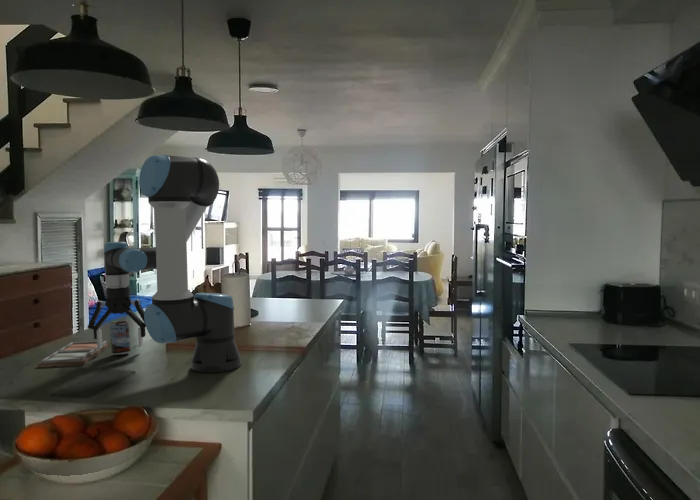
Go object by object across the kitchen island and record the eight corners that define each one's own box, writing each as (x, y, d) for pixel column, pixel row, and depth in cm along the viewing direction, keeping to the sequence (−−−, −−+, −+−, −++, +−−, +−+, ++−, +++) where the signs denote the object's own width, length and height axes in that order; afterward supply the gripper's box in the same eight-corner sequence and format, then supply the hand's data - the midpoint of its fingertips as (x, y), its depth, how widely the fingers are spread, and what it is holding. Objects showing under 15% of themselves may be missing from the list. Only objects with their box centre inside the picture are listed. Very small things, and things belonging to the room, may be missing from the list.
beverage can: (114, 358, 180) (112, 323, 179) (108, 353, 185) (106, 319, 185) (133, 354, 184) (132, 320, 183) (127, 350, 189) (125, 317, 189)
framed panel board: (84, 365, 172) (83, 358, 172) (37, 367, 170) (37, 361, 170) (109, 345, 197) (109, 340, 197) (69, 347, 196) (69, 342, 196)
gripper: (157, 284, 188) (160, 342, 190) (83, 286, 185) (86, 346, 187) (152, 286, 181) (155, 348, 182) (75, 289, 178) (78, 351, 179)
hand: (120, 347), depth 185 cm, fingers open, 13 cm apart
